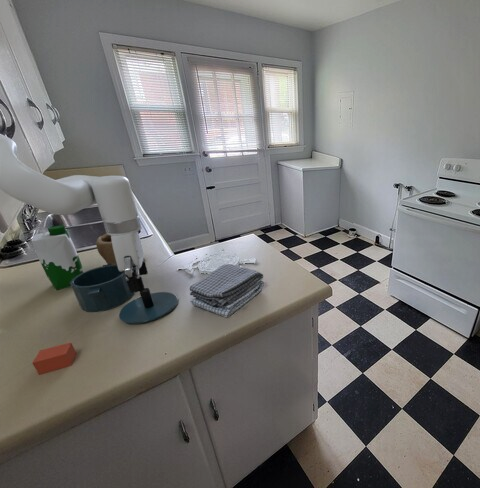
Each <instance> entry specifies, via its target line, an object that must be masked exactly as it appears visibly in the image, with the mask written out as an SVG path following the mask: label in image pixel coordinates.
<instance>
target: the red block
mask: <svg viewBox="0 0 480 488" xmlns="http://www.w3.org/2000/svg"><path fill="white" fill-rule="evenodd" d="M76 356H77V351H76V349H75V347H74V346H73V343H72V342H71V341H70V342H66V343H63V344H59V345H55V346H51V347H47V348H43V349H40V350H39V352H38V353H37V354H36V356H35V357H34V359H33V360H32V362H31V363H32V366H33V367H34V369H35V370H36V373H37V374H38V375H42V374H46V373H50V372H54V371H57V370H61V369H64V368H68V367H71V366H73V362H74V360H75V358H76Z"/></svg>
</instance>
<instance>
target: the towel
mask: <svg viewBox="0 0 480 488" xmlns="http://www.w3.org/2000/svg"><path fill="white" fill-rule="evenodd" d="M239 266H240V265H239ZM239 266H235V265H232V264H226V265H223V266H221V267H219V268H218V269H216V270H215V271H213V272H212V273H211V274H209V275H206V276H205V277H204V278H203V277H202V279H200V280H199V281H197V282H195V283H193V284H191V285H190V286H189V291H190V293H189V295H190V296H192V297H193V298H191V299H190V301H189V302H190V304H192V305H193V306H195V307H197V308H200V309H204V310H206V311H208V312H211V313H214V314H216V315H219V316H222V317H224V318H230V317H231V316H232V315H233V314H234V313H235V312H237V311H238V310H240V309H241V308H242V307H243V306H244V305H246V304H248V302H250V301H251V300H252V299H254V297H256V296H257V295H258V294H260V292H261V291H262V290H263V288H264V286H265V282H264V281H263V279H264V274H263V273H261V272H260V271H257V270H254V269H250V268H248V267H244V266H242V267H239Z"/></svg>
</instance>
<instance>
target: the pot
mask: <svg viewBox="0 0 480 488" xmlns="http://www.w3.org/2000/svg"><path fill="white" fill-rule="evenodd" d="M70 285H71V289H72V291H73V294H74V296H75V298H76V300H77V303H78V305H79V307H80V309H81V311H83V312H86V313H98V312H105V311H108V310H111V309H115V308H117V307H119V306H121V305H123V304H125V303H128V301H129V300H131V299H132V298H133V297H134V295H135V293H136V292H134V293H131V292H130V290H129V287H128V283H127V280H126V273H125V270H124V271H122V272H120V271H119V270H118V266H117V265H112V264H107V263H106V264H103V265H101V266H98V267H95V268H91V269H88V270H86V271H83V273H81V274H79V275H78V276H76V277H74V278H73V279H72V280H71V282H70Z"/></svg>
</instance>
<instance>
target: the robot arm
mask: <svg viewBox="0 0 480 488" xmlns="http://www.w3.org/2000/svg"><path fill="white" fill-rule="evenodd" d="M17 154H18V145H17V143H16V142H15V141H14V140H13V139H12V138H10V137H8V136H7V135H4V134H2V133H0V190H1V191H2V192H3V193H5V194H7V195H8V196H10V197H12V198H13V199H15V200H17V201H19V202H22V203H24V204H26V205H29V206H31V207H33V208H36V209H38V210H40V211H42V212H45V213H49V214H52V215H57V216H69V215H73V214H76V213H78V212H80V211H82V210H83V209H85V208H88V207H91V206H94V205H96V204H97V208H98V211H99V214H100V217H101V220H102V223H103V224H102V225H103V227H104V230H105V234H106V233H107V235H111V240H112V246H113V250H114V254H115V258H116V262H117V266H118V270H119V271H120V272H122V271H124V270H125V273H126V280H127V283H128V287H129V290H130V292H131V293H134V292H135V293H138V292H139V293H140V291H143V290H144V289H145V288H146V287H145V285H144V281H143V278H142V276H145V275H148V274H149V273H148V269H147V268H148V267H147V265H146V261H145V262H143V261H144V258H145V253H144V247H143V244H142V240H141V237H140V234H139V231H141V230H143V229H142V225H141V220H140V216H139V213H138V209H137V205H136V201H135V197H134V193H133V190H132V186H131V181H129V180H130V179H128V177H125V176H123V175H103V176H97V175H96V176H95V175H85V174H74V175H69V176H65V177H61V178H58V179H55V178H52V177H49V176H47V175H45V174H43V173H41V172H39V171H37V170H35V169H33V168H31V167H30V166H28V165H27V164H25V163H23V161H21V160H20V159H18V157H17ZM135 293H134V294H135Z"/></svg>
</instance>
